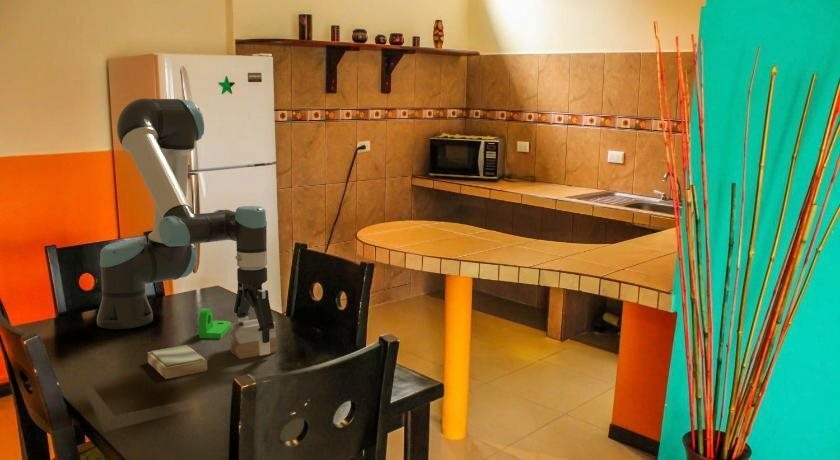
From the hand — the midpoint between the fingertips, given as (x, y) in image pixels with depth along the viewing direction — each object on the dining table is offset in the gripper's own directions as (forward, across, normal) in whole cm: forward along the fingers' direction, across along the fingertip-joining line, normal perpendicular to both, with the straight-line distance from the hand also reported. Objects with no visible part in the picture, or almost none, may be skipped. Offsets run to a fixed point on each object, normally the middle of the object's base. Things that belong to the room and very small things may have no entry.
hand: (254, 347), depth 193 cm
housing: (+1, 0, 0) cm, 1 cm away
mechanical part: (+2, -22, -2) cm, 22 cm away
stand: (+1, 0, -20) cm, 20 cm away
